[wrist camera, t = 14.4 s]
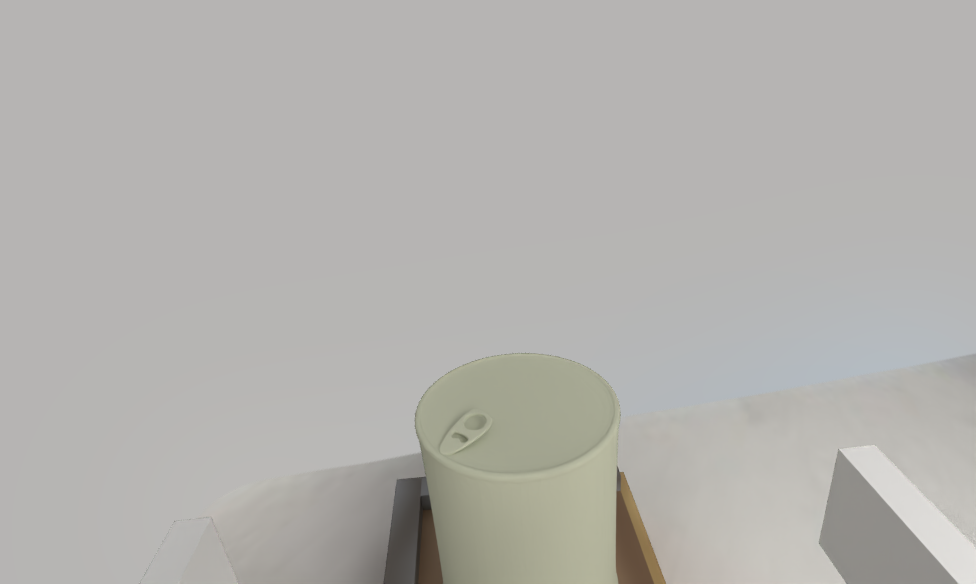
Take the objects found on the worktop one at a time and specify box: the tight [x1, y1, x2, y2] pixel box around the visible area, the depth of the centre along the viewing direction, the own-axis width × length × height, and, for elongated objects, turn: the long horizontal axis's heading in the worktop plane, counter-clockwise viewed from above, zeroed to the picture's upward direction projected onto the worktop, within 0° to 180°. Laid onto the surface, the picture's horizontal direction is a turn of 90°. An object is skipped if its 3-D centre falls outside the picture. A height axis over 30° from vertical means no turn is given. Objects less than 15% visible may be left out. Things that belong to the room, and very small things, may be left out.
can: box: [415, 353, 621, 584], centre depth 28 cm, size 9×9×12 cm
